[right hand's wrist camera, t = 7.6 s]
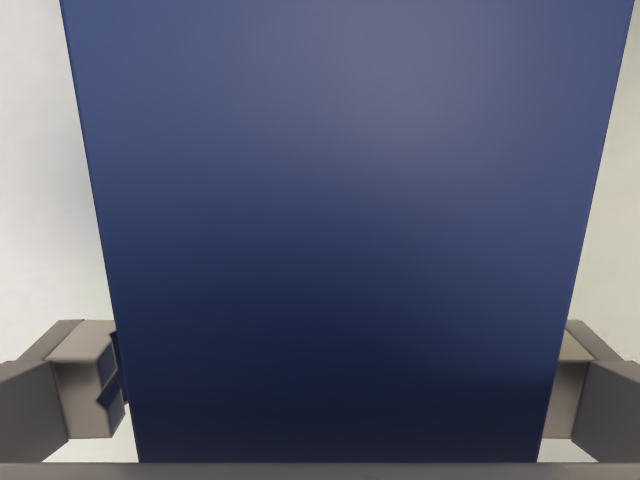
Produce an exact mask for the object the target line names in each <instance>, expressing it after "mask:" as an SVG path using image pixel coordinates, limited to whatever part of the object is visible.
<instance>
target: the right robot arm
mask: <svg viewBox="0 0 640 480" xmlns="http://www.w3.org/2000/svg"><path fill="white" fill-rule="evenodd" d="M127 403H129V402H128V396H127V390H126V385H125V379H124V373H123V367H122V361H121V356H120V350H119V344H118V338H117V332H116V327H115V321H114V320H84V319H74V320H59V321H58V322H57V323H56V324H54V325H53V326H52V327H51V328H50V329H49V330H48V331H47V332H46V333H45V334H44V335H43V336H42V337H40V338H39V339H38V340H37V341H36V342H35V343H34V344H33V345H32V346H31V347H30V348H29V349H28V350H27V351H25V352H24V353H23V354H22V355H21V356H20V357H19V358H18V359H17V360H16V361H6V362H4V363H1V364H0V480H640V364H639V363H636V362H634V361H624V360H623V359H622V358H621V357H620V356H619V355H618V354H617V353H616V352H615V351H614V350H612V349H611V348H610V347H609V346H608V345H607V344H606V343H605V342H604V341H603V340H602V339H601V338H600V337H599V336H597V335H596V334H595V333H594V332H593V331H592V330H591V329H590V328H589V327H588V326H587V325H586V324H585V323H584V322H582V321H580V320H577V319H567V322H566V326H565V331H564V336H563V340H562V345H561V350H560V355H559V359H558V364H557V369H556V373H555V378H554V383H553V388H552V392H551V397H550V402H549V406H548V411H547V416H546V421H545V425H544V430H543V435H542V438H551V439H572V440H571V441H572V442H573V443H575V444H576V445H577V446H578V447H580V448H581V449H582V450H584V451H585V452H586V453H588V454H589V455H590V456H592V457H593V458H594V459H596V460H597V461H598V462H532V463H41V462H42V461H43V460H45V459H46V458H47V457H49V456H50V455H51V454H52V453H54V452H55V451H56V450H58V449H59V448H60V447H62V446H63V445H64V444H66V443H67V442H68V441H69V440H68V439H88V438H112V437H113V435H114V433H115V431H116V430H117V428H118V426H119V425H120V423H121V421H122V419H123V418H124V416H125V409H124V405H126V404H127Z"/></svg>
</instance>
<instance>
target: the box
mask: <svg viewBox="0 0 640 480" xmlns="http://www.w3.org/2000/svg"><path fill="white" fill-rule="evenodd" d="M59 1H60V7H61V13H62V19H63V25H64V30H65V36H66V42H67V48H68V54H69V59H70V65H71V71H72V77H73V83H74V88H75V94H76V100H77V106H78V112H79V117H80V123H81V129H82V135H83V141H84V147H85V152H86V158H87V164H88V170H89V176H90V181H91V187H92V193H93V199H94V205H95V210H96V216H97V222H98V228H99V234H100V239H101V245H102V251H103V257H104V263H105V268H106V274H107V280H108V286H109V292H110V298H111V303H112V309H113V315H114V321H115V327H116V332H117V338H118V344H119V350H120V356H121V361H122V367H123V373H124V379H125V385H126V390H127V396H128V402H129V408H130V414H131V419H132V425H133V431H134V437H135V443H136V449H137V454H138V460H139V463H532V462H537V458H538V454H539V449H540V444H541V439H542V435H543V430H544V425H545V421H546V416H547V411H548V406H549V402H550V397H551V392H552V388H553V383H554V378H555V373H556V369H557V364H558V359H559V355H560V350H561V345H562V340H563V336H564V331H565V326H566V322H567V317H568V312H569V307H570V303H571V298H572V293H573V289H574V284H575V279H576V274H577V270H578V265H579V260H580V256H581V251H582V246H583V241H584V237H585V232H586V227H587V223H588V218H589V213H590V208H591V204H592V199H593V194H594V190H595V185H596V180H597V175H598V171H599V166H600V161H601V157H602V152H603V147H604V142H605V138H606V133H607V128H608V124H609V119H610V114H611V109H612V105H613V100H614V95H615V91H616V86H617V81H618V76H619V72H620V67H621V62H622V57H623V53H624V48H625V43H626V39H627V34H628V29H629V24H630V20H631V15H632V10H633V6H634V1H635V0H59Z"/></svg>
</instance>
